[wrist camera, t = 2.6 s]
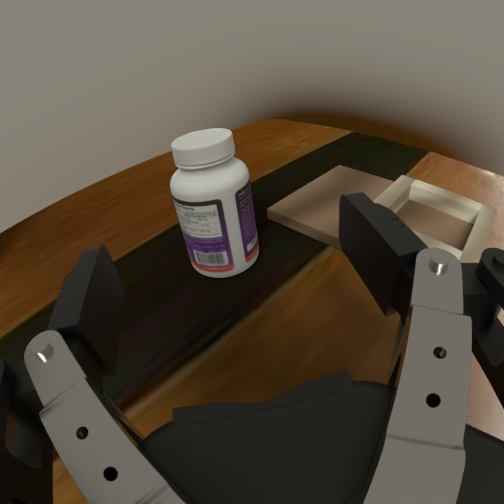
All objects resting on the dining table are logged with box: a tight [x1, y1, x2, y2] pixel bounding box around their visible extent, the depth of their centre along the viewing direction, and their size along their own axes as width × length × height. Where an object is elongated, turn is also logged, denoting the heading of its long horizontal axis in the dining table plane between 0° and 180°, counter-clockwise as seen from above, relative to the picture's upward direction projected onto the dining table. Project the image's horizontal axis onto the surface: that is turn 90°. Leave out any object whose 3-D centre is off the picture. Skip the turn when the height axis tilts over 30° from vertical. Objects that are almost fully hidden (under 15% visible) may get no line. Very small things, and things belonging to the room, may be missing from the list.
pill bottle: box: [170, 128, 259, 278], centre depth 22 cm, size 5×5×10 cm
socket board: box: [267, 165, 496, 263], centre depth 26 cm, size 18×12×2 cm, turn 45°
